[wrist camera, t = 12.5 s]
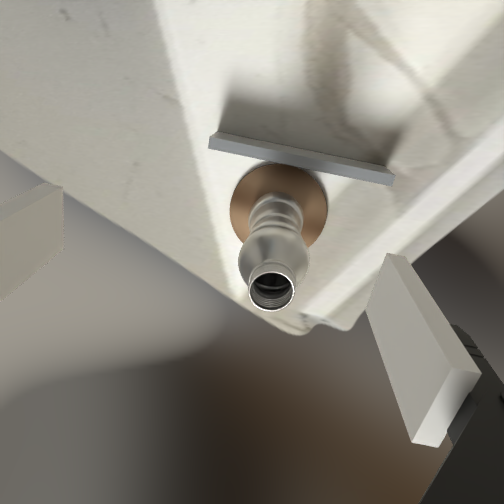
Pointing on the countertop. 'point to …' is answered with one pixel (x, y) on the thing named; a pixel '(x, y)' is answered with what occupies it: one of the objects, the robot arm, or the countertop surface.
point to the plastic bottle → (274, 251)
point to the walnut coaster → (279, 181)
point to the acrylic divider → (301, 158)
